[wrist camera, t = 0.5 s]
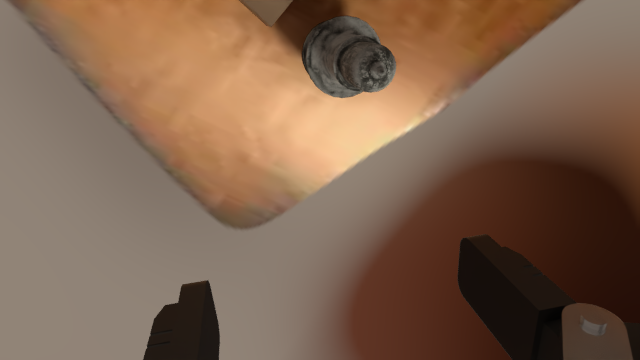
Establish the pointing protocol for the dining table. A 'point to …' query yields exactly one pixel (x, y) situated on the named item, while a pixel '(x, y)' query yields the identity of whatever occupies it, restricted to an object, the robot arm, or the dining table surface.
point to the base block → (267, 9)
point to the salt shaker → (347, 58)
